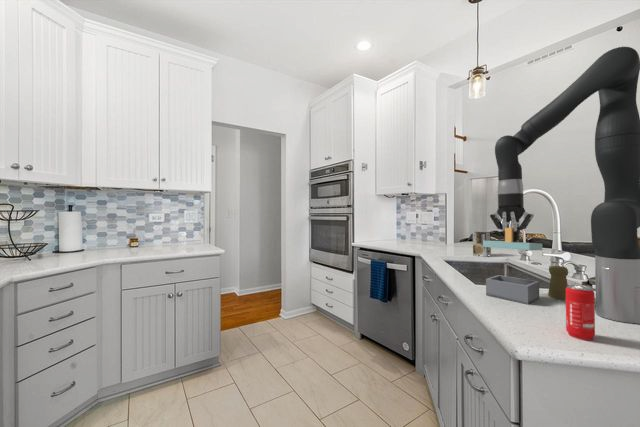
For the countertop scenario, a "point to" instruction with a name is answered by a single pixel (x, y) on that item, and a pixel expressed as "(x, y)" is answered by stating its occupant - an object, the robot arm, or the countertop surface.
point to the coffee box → (481, 243)
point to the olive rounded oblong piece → (558, 282)
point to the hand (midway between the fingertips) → (511, 241)
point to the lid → (512, 243)
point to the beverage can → (580, 312)
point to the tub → (512, 289)
